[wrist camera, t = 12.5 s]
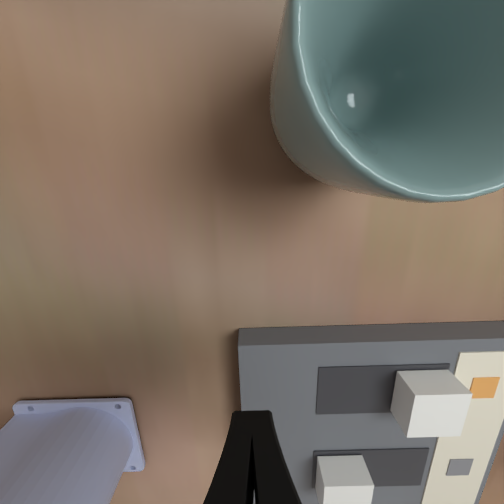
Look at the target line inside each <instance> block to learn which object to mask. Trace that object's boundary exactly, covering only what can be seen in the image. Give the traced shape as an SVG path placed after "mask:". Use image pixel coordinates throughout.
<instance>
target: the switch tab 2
mask: <svg viewBox="0 0 504 504" xmlns="http://www.w3.org/2000/svg"><path fill="white" fill-rule="evenodd" d="M472 395H473V394H472V393H471V392H470V391H469V390H468V389H467V388H466V387H465V386H464V385H463V384H462V383H461V382H460V381H459V380H458V379H457V378H456V377H455V376H454V375H453V374H452V373H451V372H450V371H449V370H414V371H397V374H396V380H395V386H394V391H393V397H392V403H391V409H390V411H391V412H392V414H393V416H394V417H395V419H396V421H397V422H398V424H399V426H400V427H401V429H402V431H403V433H404V434H405V436H406V438H416V437H453V436H461V433H462V429H463V426H464V422H465V419H466V416H467V412H468V409H469V405H470V402H471V398H472Z"/></svg>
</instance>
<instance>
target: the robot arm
mask: <svg viewBox="0 0 504 504" xmlns="http://www.w3.org/2000/svg"><path fill="white" fill-rule="evenodd" d="M12 408H13V412H14V414H15V415H14V416H13V417H12V418H11V419H10V420H9V421H8V422H7V423H6V424H5V426H4V427H3V428H2V429H1V430H0V504H109V503H110V501H111V498H112V496H113V494H114V491H115V489H116V487H117V485H118V482H119V480H120V478H121V475H122V473H123V472H135V471H142V470H143V469H144V467H145V459H144V454H143V450H142V445H141V441H140V436H139V432H138V427H137V422H136V418H135V413H134V409H133V404H132V401H131V400H130V399H129V398H100V399H63V400H27V401H18V402H16V403H15V404H14V405H13V407H12ZM254 493H255V504H302V503H301V500H300V498H299V495H298V493H297V490H296V488H295V485H294V483H293V480H292V478H291V475H290V472H289V470H288V467H287V464H286V462H285V459H284V456H283V453H282V450H281V447H280V443H279V440H278V437H277V433H276V430H275V426H274V421H273V416H272V412H271V411H269V410H253V411H235V412H234V413H232V418H231V423H230V427H229V431H228V435H227V438H226V442H225V445H224V448H223V451H222V455H221V458H220V460H219V463H218V466H217V469H216V472H215V474H214V477H213V480H212V483H211V485H210V488H209V491H208V493H207V495H206V498H205V500H204V503H203V504H253V501H254Z"/></svg>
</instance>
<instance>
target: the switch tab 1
mask: <svg viewBox="0 0 504 504" xmlns="http://www.w3.org/2000/svg"><path fill="white" fill-rule="evenodd" d="M315 488H316V492H317V497H318V502H319V504H371V502H372V496H373V490H374V484H373V481H372V479H371V476H370V474H369V471H368V468H367V466H366V463H365V461H364V458H363V456H362V455H348V456H317V469H316V484H315Z"/></svg>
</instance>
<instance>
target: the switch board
mask: <svg viewBox="0 0 504 504" xmlns="http://www.w3.org/2000/svg"><path fill="white" fill-rule="evenodd" d="M238 357H239V376H240V394H241V411H253V410H269V411H271V412H272V416H273V421H274V426H275V430H276V433H277V437H278V440H279V443H280V447H281V450H282V453H283V456H284V459H285V462H286V464H287V467H288V470H289V472H290V475H291V478H292V480H293V483H294V485H295V488H296V490H297V493H298V495H299V498H300V500H301V503H302V504H319V502H318V497H317V492H316V488H315V484H316V469H317V456H348V455H362V456H363V458H364V461H365V463H366V466H367V468H368V471H369V474H370V476H371V479H372V481H373V484H374V490H373V496H372V502H371V504H478V503H479V500H480V498H481V495H482V492H483V489H484V486H485V484H486V481H487V478H488V475H489V472H490V470H491V467H492V464H493V461H494V458H495V455H496V453H497V450H498V447H499V444H500V441H501V439H502V436H503V433H504V321H480V322H445V323H410V324H375V325H340V326H305V327H270V328H239V337H238ZM414 370H449V371H450V372H451V373H452V374H453V375H454V376H455V377H456V378H457V379H458V380H459V381H460V382H461V383H462V384H463V385H464V386H465V387H466V388H467V389H468V390H469V391H470V392H471V393H472V394H473V395H472V398H471V402H470V405H469V409H468V412H467V416H466V419H465V422H464V426H463V429H462V433H461V436H453V437H416V438H406V436H405V434H404V433H403V431H402V429H401V427H400V426H399V424H398V422H397V421H396V419H395V417H394V416H393V414H392V412H391V411H390V409H391V403H392V397H393V391H394V386H395V380H396V374H397V371H414ZM253 504H255V493H254V501H253Z"/></svg>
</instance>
